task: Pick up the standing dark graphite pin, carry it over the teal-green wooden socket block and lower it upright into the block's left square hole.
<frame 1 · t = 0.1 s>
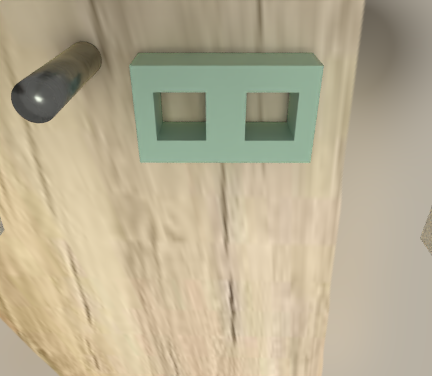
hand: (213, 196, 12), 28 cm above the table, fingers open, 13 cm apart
socket block: (224, 100, 39), on the table
pin: (85, 58, 37), on the table
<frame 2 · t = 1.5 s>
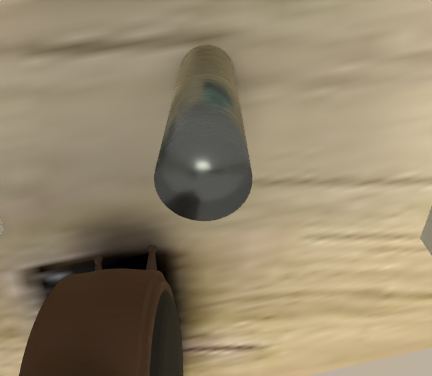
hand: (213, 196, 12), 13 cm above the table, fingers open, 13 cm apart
pin: (207, 72, 22), on the table
alarm clock: (141, 286, 31), on the table
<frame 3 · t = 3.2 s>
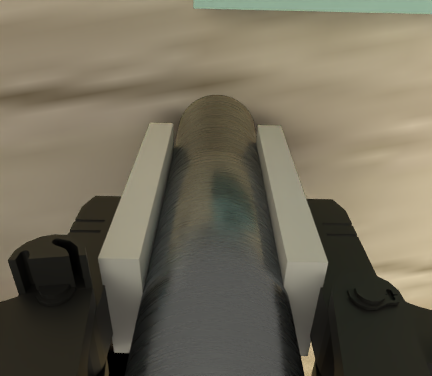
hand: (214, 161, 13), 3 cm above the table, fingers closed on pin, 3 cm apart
pin: (216, 132, 16), on the table, touching gripper
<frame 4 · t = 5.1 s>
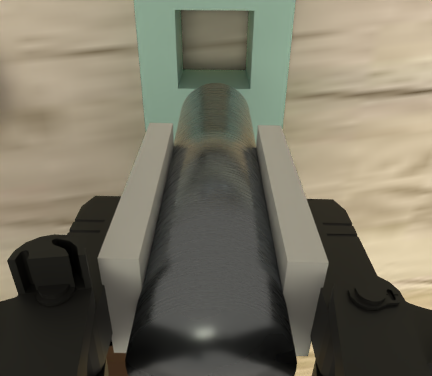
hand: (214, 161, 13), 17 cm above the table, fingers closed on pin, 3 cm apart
socket block: (214, 93, 29), on the table
pin: (215, 117, 17), point 12 cm above the table, touching gripper
alarm clock: (133, 350, 45), on the table
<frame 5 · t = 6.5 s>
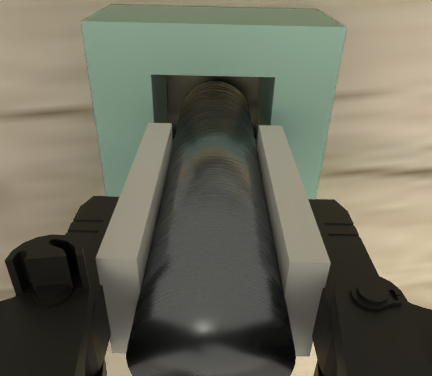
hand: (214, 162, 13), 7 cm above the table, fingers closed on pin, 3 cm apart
socket block: (211, 168, 21), on the table
pin: (215, 115, 17), point 2 cm above the table, touching gripper
when the fingers open (5 cm above the table, at t = 7.4 s): pin stays where it is, resting in socket block.
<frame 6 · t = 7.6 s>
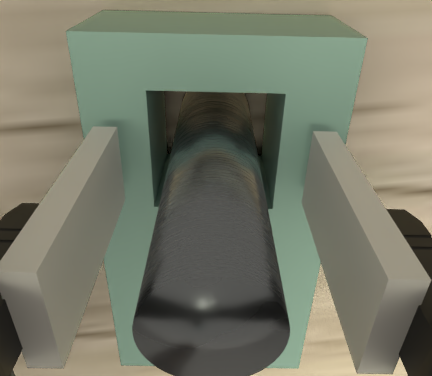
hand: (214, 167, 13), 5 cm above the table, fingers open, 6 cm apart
socket block: (213, 186, 20), on the table
pin: (215, 110, 18), resting in socket block
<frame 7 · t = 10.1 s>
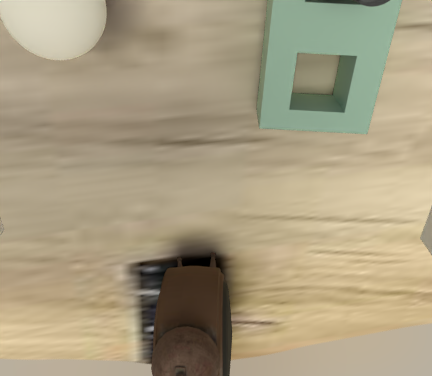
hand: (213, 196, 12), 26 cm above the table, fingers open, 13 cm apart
socket block: (320, 20, 33), on the table
alarm clock: (202, 278, 49), on the table
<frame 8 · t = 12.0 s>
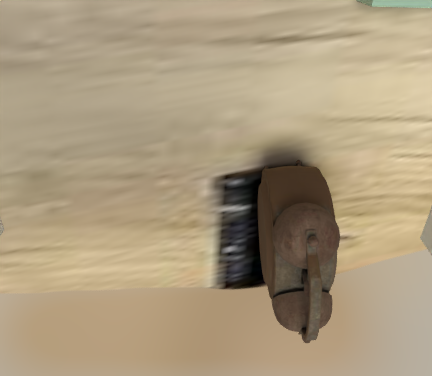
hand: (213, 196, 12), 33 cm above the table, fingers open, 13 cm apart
alarm clock: (284, 190, 50), on the table
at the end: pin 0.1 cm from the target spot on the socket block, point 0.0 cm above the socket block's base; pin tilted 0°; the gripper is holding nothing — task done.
